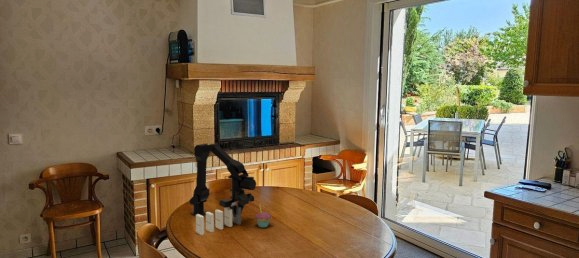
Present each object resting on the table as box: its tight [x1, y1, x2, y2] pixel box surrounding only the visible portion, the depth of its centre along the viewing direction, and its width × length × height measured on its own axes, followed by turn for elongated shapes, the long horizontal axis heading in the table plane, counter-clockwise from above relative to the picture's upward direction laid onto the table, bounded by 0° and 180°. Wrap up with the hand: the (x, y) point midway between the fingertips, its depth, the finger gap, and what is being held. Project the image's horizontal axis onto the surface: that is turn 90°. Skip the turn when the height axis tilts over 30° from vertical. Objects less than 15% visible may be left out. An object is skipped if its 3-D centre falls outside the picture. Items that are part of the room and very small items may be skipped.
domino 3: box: [214, 209, 224, 230], centre depth 201 cm, size 2×5×9 cm, turn 42°
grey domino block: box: [232, 206, 242, 226], centre depth 209 cm, size 2×5×9 cm, turn 42°
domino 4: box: [223, 207, 233, 228], centre depth 205 cm, size 2×5×9 cm, turn 42°
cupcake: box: [254, 204, 273, 228], centre depth 205 cm, size 9×8×12 cm
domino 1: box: [195, 214, 205, 236], centre depth 194 cm, size 2×5×9 cm, turn 43°
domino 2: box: [205, 211, 215, 233], centre depth 198 cm, size 2×5×9 cm, turn 42°
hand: (237, 216), depth 209 cm, fingers open, 3 cm apart
